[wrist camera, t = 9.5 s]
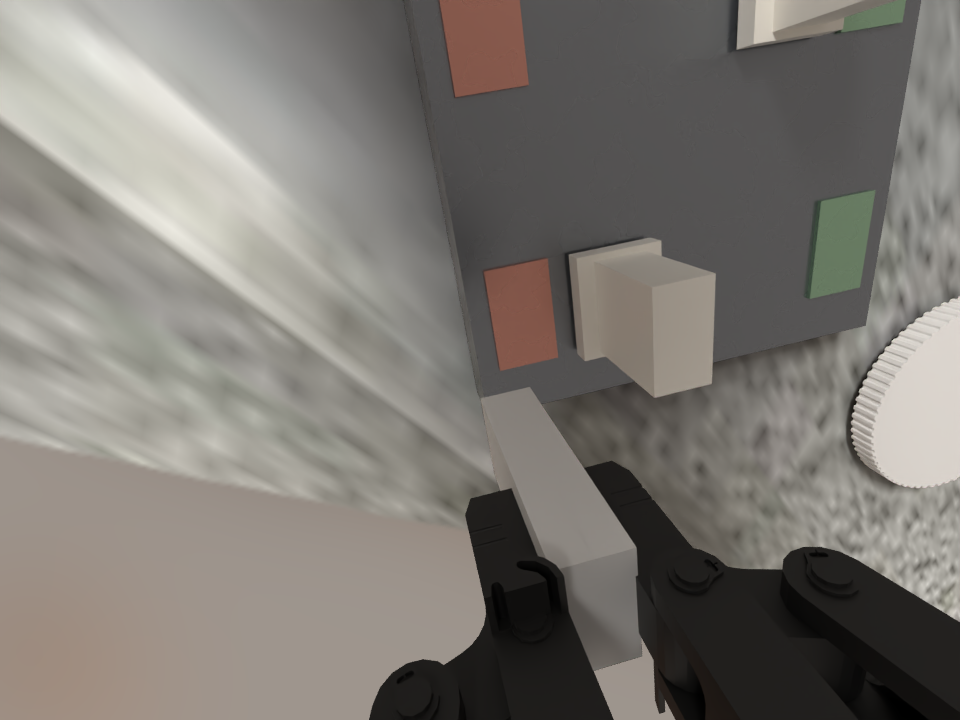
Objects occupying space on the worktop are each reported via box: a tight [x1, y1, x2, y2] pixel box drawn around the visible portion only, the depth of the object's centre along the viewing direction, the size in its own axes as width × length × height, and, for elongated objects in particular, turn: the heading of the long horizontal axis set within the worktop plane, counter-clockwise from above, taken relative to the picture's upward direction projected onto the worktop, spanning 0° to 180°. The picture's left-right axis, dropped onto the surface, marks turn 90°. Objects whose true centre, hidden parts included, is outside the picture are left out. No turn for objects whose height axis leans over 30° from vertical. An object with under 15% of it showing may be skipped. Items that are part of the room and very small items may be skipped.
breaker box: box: [403, 0, 921, 404], centre depth 23 cm, size 22×22×3 cm
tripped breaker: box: [569, 238, 716, 398], centre depth 20 cm, size 4×5×6 cm
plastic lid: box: [851, 296, 960, 488], centre depth 33 cm, size 14×14×2 cm
